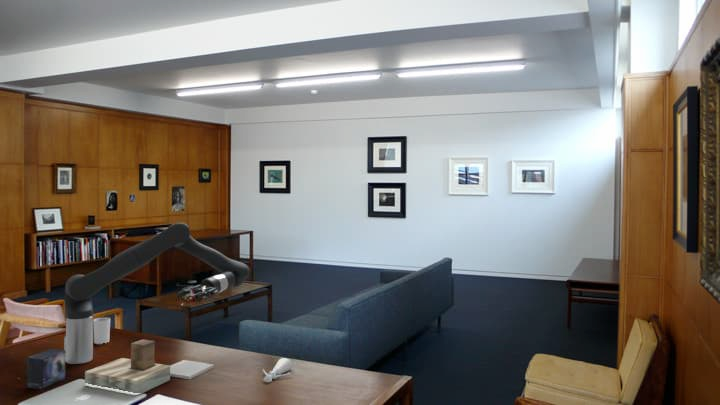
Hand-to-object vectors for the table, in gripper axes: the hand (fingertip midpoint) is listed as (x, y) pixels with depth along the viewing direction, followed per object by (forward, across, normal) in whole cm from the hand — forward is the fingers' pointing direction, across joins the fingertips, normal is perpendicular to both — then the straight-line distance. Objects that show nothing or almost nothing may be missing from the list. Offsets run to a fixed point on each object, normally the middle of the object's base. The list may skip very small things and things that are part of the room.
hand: (186, 296), depth 202 cm
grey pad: (+10, +6, +25) cm, 27 cm away
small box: (+41, -27, +20) cm, 53 cm away
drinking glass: (-1, -52, +25) cm, 58 cm away
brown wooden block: (+25, 0, +21) cm, 32 cm away
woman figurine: (-2, +38, +28) cm, 47 cm away
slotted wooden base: (+28, -3, +22) cm, 36 cm away
